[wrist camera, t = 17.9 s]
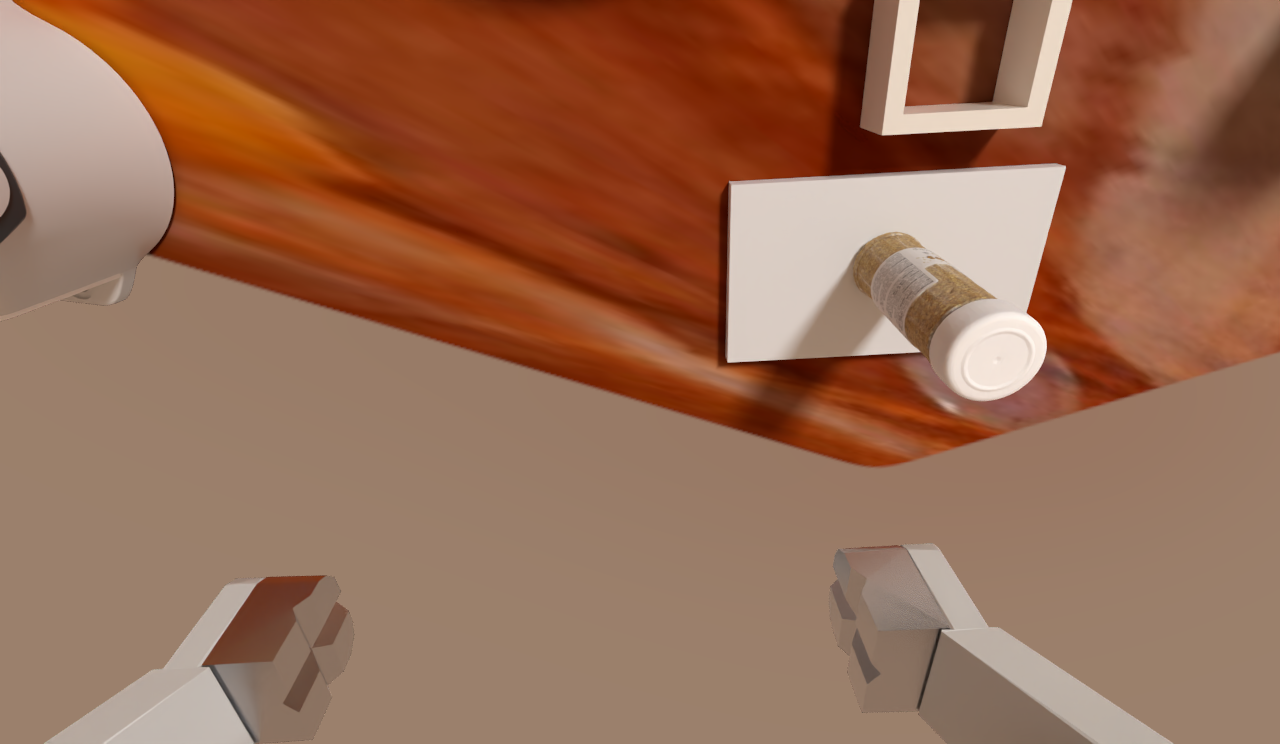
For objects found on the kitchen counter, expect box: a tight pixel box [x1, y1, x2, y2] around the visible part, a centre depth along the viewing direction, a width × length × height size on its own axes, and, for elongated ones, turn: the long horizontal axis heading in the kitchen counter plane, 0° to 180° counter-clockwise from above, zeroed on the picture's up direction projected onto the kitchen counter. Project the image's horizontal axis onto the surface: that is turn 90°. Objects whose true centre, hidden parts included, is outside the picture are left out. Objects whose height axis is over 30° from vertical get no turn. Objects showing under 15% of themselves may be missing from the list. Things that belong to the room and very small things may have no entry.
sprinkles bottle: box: [853, 232, 1047, 401], centre depth 33 cm, size 5×5×13 cm
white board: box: [725, 163, 1066, 363], centre depth 40 cm, size 20×12×1 cm, turn 93°
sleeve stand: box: [860, 0, 1072, 135], centre depth 32 cm, size 9×9×4 cm
